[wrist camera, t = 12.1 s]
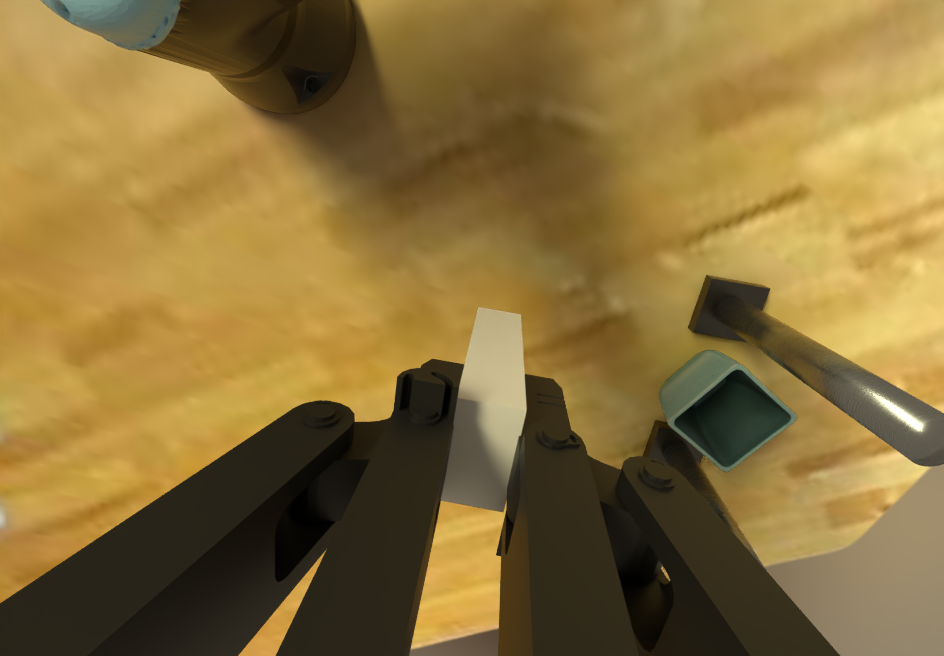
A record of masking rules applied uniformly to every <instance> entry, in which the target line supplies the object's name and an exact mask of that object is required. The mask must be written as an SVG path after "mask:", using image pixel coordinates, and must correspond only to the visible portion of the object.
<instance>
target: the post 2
mask: <svg viewBox="0 0 944 656" xmlns="http://www.w3.org/2000/svg"><path fill="white" fill-rule="evenodd" d="M769 291H770V288H768V287H765V286H763V285H758V284H753V283H747V282H742V281H736V280H731V279H725V278H720V277H714V276H709V275H706V278H705V281H704V283H703V286H702V289H701V292H700V295H699V298H698V301H697V303H696V306H695V309H694V312H693V315H692V318H691V320H690V323H689V326H688V328H689V329H690V330H691V331H693V332H696V333H701V334H707V335H712V336H718V337H723V338H729V339H734V340H739V341H745V342H749V343H750V344H752V345H753V346H754V347H756V348H757V349H758V350H760V351H761V352H763V353H764V354H765V355H767V356H768V357H769V358H771V359H772V360H774V361H775V362H776V363H778V364H779V365H780V366H782V367H783V368H784V369H786V370H787V371H789V372H790V373H791V374H793V375H794V376H795V377H797V378H798V379H800V380H801V381H802V382H804V383H805V384H806V385H808V386H809V387H811V388H812V389H813V390H815V391H816V392H817V393H819V394H820V395H822V396H823V397H824V398H826V399H827V400H828V401H830V402H831V403H833V404H834V405H835V406H837V407H838V408H839V409H841V410H842V411H843V412H845V413H846V414H848V415H849V416H850V417H852V418H853V419H854V420H856V421H857V422H859V423H860V424H861V425H863V426H864V427H865V428H867V429H868V430H870V431H871V432H872V433H874V434H875V435H876V436H878V437H879V438H881V439H882V440H883V441H885V442H886V443H887V444H889V445H890V446H892V447H893V448H894V449H896V450H897V451H898V452H900V453H901V454H903V455H904V456H905V457H907V458H908V459H909V460H911V461H912V462H914V463H915V464H918V465H921V466H938V465H942V464H944V413H942V412H940V411H938V410H937V409H935V408H933V407H931V406H929V405H928V404H926V403H924V402H922V401H921V400H919V399H917V398H915V397H914V396H912V395H910V394H908V393H906V392H905V391H903V390H901V389H899V388H898V387H896V386H894V385H892V384H890V383H889V382H887V381H885V380H883V379H882V378H880V377H878V376H876V375H874V374H873V373H871V372H869V371H867V370H866V369H864V368H862V367H860V366H859V365H857V364H855V363H853V362H851V361H850V360H848V359H846V358H844V357H843V356H841V355H839V354H837V353H835V352H834V351H832V350H830V349H828V348H827V347H825V346H823V345H821V344H819V343H818V342H816V341H814V340H812V339H811V338H809V337H807V336H805V335H804V334H802V333H800V332H798V331H796V330H795V329H793V328H791V327H789V326H788V325H786V324H784V323H782V322H780V321H779V320H777V319H775V318H773V317H772V316H770V315H768V314H766V313H764V312H763V311H762V308H763V306H764V304H765V301H766V299H767V296H768V294H769Z"/></svg>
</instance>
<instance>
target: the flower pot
mask: <svg viewBox="0 0 944 656" xmlns="http://www.w3.org/2000/svg"><path fill="white" fill-rule="evenodd" d="M659 400H660V404H661V407H662V409H663V412H664V415H665V417H666V420H667V423H668V425H669V426H670V427H671V428H672V429H673V430H675V431H676V432H677V433H678V434H680V435H681V436H682V437H683V438H685V439H686V440H687V441H688V442H689V443H691V444H692V445H693V446H694V447H695V448H696V449H698V450H699V451H700V452H701V453H702V454H703V455H705V456H706V457H707V458H708V459H709V460H710V461H712V462H713V463H714V464H715V465H716V466H717V467H718V468H719V469H720V470H722V471H724V472H728V471H730V470H732V469H733V468H735V467H736V466H737V465H738V464H740V463H741V462H742V461H744V460H745V459H746V458H747V457H749V456H750V455H751V454H753V453H754V452H755V451H757V450H758V449H759V448H761V447H762V446H763V445H764V444H766V443H767V442H768V441H769V440H771V439H772V438H773V437H775V436H776V435H778V434H779V433H780V432H782V431H783V430H785V429H786V428H788V427H789V426H790V425H792V424H793V423H794V422H795V421H796V419H797V415H796V414H795V413H794V412H793V411H792V410H791V409H790V408H789V407H788V406H786V405H785V404H784V403H783V402H782V401H781V400H780V399H779V398H778V397H777V396H775V395H774V394H773V393H772V392H771V391H770V390H769V389H768V388H767V387H766V386H765V385H763V384H762V383H761V382H760V381H759V380H758V379H757V378H756V377H755V376H754V375H753V374H752V373H751V372H750V371H749V370H748V369H746V368H745V367H744V366H743V365H742V364H740V363H738V362H737V361H735V360H733V359H732V358H730V357H728V356H726V355H724V354H723V353H721V352H718V351H716V350H705V351H702V352H700V353H698V354H696V355H695V356H694V357H693V358H692V359H690V360H689V361H688V362H687V363H686V364H685V365H684V366H683V367H681V368H680V369H679V370H678V371H677V372H676V373H675V374H673V375H672V376H671V377H670V378H669V379H668V380H666V382H665V383H664V384H663V386H662V388H661V390H660V394H659Z"/></svg>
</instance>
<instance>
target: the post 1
mask: <svg viewBox="0 0 944 656" xmlns="http://www.w3.org/2000/svg"><path fill="white" fill-rule="evenodd" d="M702 456H703V454H702V453H701V452H700V451H699V450H698V449H696V448H695V447H694V446H693V445H692V444H691V443H689V442H688V441H687V440H686V439H685V438H683V437H682V436H681V435H680V434H678V433H677V432H676V431H675V430H673V429H672V428H671V427H670V426H669V425H668V423H667V422H662V421H657V420H655V423H654V426H653V429H652V431H651V434H650V437H649V440H648V443H647V446H646V448H645V451H644V454H643V457H647V458H653V459H657V460H658V461H659V460H660V461H662V462H664V463H666V464H667V465H669V466H671V467H672V468H674V469H676V470H677V471H678V472H679V473H680V474H682V475H683V476H684V477H685V478H686V479H687V480H688V481H689V483H690V484H691V485H692V486H693V487H694V488H695V489H696V491H697V492H698V493H699V494H700V495H701V496H702V498H703V499H704V500H705V501H706V502H707V503H708V504H709V506H710V507H711V508H712V509H713V510H714V511H715V512H716V514H717V515H718V516H719V517H720V518H721V519H722V521H723V522H724V523H725V524H726V525H727V526H728V527H729V529H730V530H731V531H732V532H733V533H734V534H735V535H736V537H737V538H738V539H739V540H740V541H741V542H742V544H743V545H744V546H745V547H746V548H747V549H748V550H749V552H750V553H751V554H752V555H753V556H754V557H755V558H756V560H757V561H758V562H759V563H760V564H761V565H762V563H761V561H760V560H759V558H758V557H757V555H756V554H755V552H754V550H753V549H752V547H751V546H750V544H749V542H748V541H747V539H746V538H745V536H744V535H743V533H742V531H741V530H740V528H739V527H738V525H737V523H736V522H735V520H734V519H733V517H732V516H731V514H730V512H729V511H728V509H727V508H726V506H725V505H724V503H723V501H722V500H721V498H720V497H719V495H718V493H717V492H716V490H715V489H714V487H713V486H712V484H711V482H710V481H709V479H708V478H707V476H706V474H705V473H704V471H703V470H702V468H701V467H700V465H699V464H700V461H701V459H702ZM762 567H763V568H764V566H763V565H762ZM764 569H765V568H764ZM765 570H766V569H765Z"/></svg>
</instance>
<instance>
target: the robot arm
mask: <svg viewBox="0 0 944 656" xmlns="http://www.w3.org/2000/svg"><path fill="white" fill-rule="evenodd" d="M40 1H42V2H43V3H44V4H45V5H46V6H47V7H48V8H50V9H51V10H52V11H53V12H55V13H56V14H57V15H59V16H60V17H62V18H64V19H65V20H67V21H68V22H70V23H71V24H73V25H75V26H77V27H79V28H82V29H84V30H86V31H89V32H91V33H94V34H96V35H99V36H102V37H103V38H104V39H106V40H107V41H109V42H112V43H114V44H115V45H117V46H119V47H121V48H125V49H128V50H137V51H140V52H144V53H147V54H150V55H153V56H157V57H160V58H163V59H167V60H170V61H173V62H177V63H180V64H183V65H187V66H190V67H193V68H197V69H200V70H203V71H207V72H209V73H210V74H211V75H212V76H214V77H215V78H216V79H217V80H218V81H219V82H220V83H221V84H222V85H223V86H224V87H225V88H226V89H227V90H228V91H229V92H230V93H232V94H233V95H234V96H236V97H237V98H239V99H240V100H242V101H244V102H246V103H248V104H250V105H252V106H254V107H257V108H260V109H263V110H267V111H271V112H276V113H282V114H295V113H302V112H306V111H309V110H311V109H314V108H316V107H318V106H319V105H321V104H323V103H324V102H325V101H327V100H328V99H329V98H330V97H331V96H332V95H333V94H334V93H335V92H336V91H337V90H338V88H339V87H340V85H341V84H342V82H343V81H344V79H345V77H346V75H347V73H348V71H349V68H350V65H351V62H352V58H353V54H354V48H355V20H354V13H353V9H352V5H351V1H350V0H40ZM506 499H507V510H506V514H505V519H504V523H503V527H502V532H501V536H500V540H499V545H498V549H497V553H496V555H498V556H501V581H500V613H499V645H498V656H840V655H839V654H838V653H837V652H836V651H835V649H834V648H833V647H832V646H831V645H830V644H829V642H828V641H827V640H826V639H825V638H824V637H823V636H822V634H821V633H820V632H819V631H818V630H817V629H816V627H815V626H814V625H813V624H812V623H811V622H810V621H809V620H808V619H807V617H806V616H805V615H804V614H803V613H802V611H801V610H800V609H799V608H798V607H797V606H796V605H795V603H794V602H793V601H792V600H791V599H790V598H789V597H788V595H787V594H786V593H785V592H784V591H783V590H782V588H781V587H780V586H779V585H778V584H777V583H776V582H775V580H774V579H773V578H772V577H771V576H770V575H769V573H768V572H767V571H766V570H765V569H764V568H763V567H762V565H761V564H760V563H759V562H758V561H757V560H756V558H755V557H754V556H753V555H752V554H751V553H750V552H749V550H748V549H747V548H746V547H745V546H744V545H743V544H742V542H741V541H740V540H739V539H738V538H737V537H736V535H735V534H734V533H733V532H732V531H731V530H730V529H729V527H728V526H727V525H726V524H725V523H724V522H723V521H722V519H721V518H720V517H719V516H718V515H717V514H716V512H715V511H714V510H713V509H712V508H711V507H710V506H709V504H708V503H707V502H706V501H705V500H704V499H703V498H702V496H701V495H700V494H699V493H698V492H697V491H696V489H695V488H694V487H693V486H692V485H691V484H690V483H689V481H688V480H687V479H686V478H685V477H684V476H683V475H682V474H680V473H679V472H678V471H677V470H676V469H674V468H672V467H671V466H669V465H667V464H666V463H664V462H662V461H660V460H659V461H658V460H657V459H653V458H647V457H641V456H638V457H630V458H628V459H627V460H625V461H624V463H623V466H622V469H621V470H620V469H617V468H614V467H612V466H609V465H607V464H604V463H602V462H599V461H597V460H595V459H593V458H592V457H590V456H588V455H587V451H586V447H585V444H584V442H583V441H582V439H581V438H580V437H579V436H578V435H577V434H576V433H575V432H573V431H572V430H571V427H570V423H569V418H568V414H567V409H566V405H565V401H564V396H563V392H562V388H561V387H560V386H559V385H558V384H557V383H556V382H555V381H554V380H553V379H550V378H544V377H539V376H533V375H528V374H524V357H523V341H522V324H521V314H516V313H510V312H504V311H499V310H493V309H487V308H482V307H478V311H477V315H476V319H475V323H474V327H473V332H472V336H471V340H470V344H469V348H468V352H467V356H466V361H465V365H464V364H459V363H453V362H448V361H442V360H437V359H431V360H429V361H428V362H426V363H424V364H423V365H422V366H421V368H415V369H409V370H406V371H404V372H402V373H401V374H400V375H399V376H398V377H397V385H396V394H395V403H394V411H393V413H392V415H391V417H390V418H388V419H385V420H381V421H374V422H355V419H354V413H353V412H352V411H351V409H350V408H349V407H347V406H345V405H343V404H341V403H336V402H331V401H323V400H322V401H313V402H308V403H304V404H302V405H299V406H297V407H295V408H293V409H292V410H290V411H289V412H287V413H286V414H284V415H283V416H281V417H280V418H278V419H277V420H275V421H274V422H272V423H271V424H269V425H268V426H266V427H265V428H263V429H262V430H260V431H259V432H257V433H256V434H254V435H253V436H251V437H250V438H248V439H247V440H245V441H244V442H242V443H241V444H239V445H238V446H236V447H235V448H233V449H232V450H230V451H229V452H227V453H226V454H224V455H223V456H221V457H220V458H218V459H217V460H215V461H214V462H212V463H211V464H209V465H208V466H206V467H205V468H203V469H202V470H200V471H199V472H197V473H196V474H194V475H193V476H191V477H190V478H188V479H187V480H185V481H184V482H182V483H181V484H179V485H178V486H176V487H175V488H173V489H172V490H170V491H168V492H167V493H165V494H164V495H162V496H161V497H159V498H158V499H156V500H155V501H153V502H152V503H150V504H149V505H147V506H146V507H144V508H143V509H141V510H140V511H138V512H137V513H135V514H134V515H132V516H131V517H129V518H128V519H126V520H125V521H123V522H122V523H120V524H119V525H117V526H116V527H114V528H113V529H111V530H110V531H108V532H107V533H105V534H104V535H102V536H101V537H99V538H98V539H96V540H95V541H93V542H92V543H90V544H89V545H87V546H86V547H84V548H83V549H81V550H80V551H78V552H77V553H75V554H74V555H72V556H71V557H69V558H68V559H66V560H65V561H63V562H62V563H60V564H59V565H57V566H56V567H54V568H53V569H51V570H50V571H48V572H47V573H45V574H44V575H42V576H41V577H39V578H38V579H36V580H35V581H33V582H32V583H30V584H29V585H27V586H26V587H24V588H23V589H21V590H20V591H18V592H17V593H15V594H14V595H12V596H11V597H9V598H8V599H6V600H5V601H3V602H2V603H0V656H238V655H239V654H240V653H241V652H242V650H243V649H244V648H245V647H246V645H247V644H248V643H249V642H250V641H251V639H252V638H253V637H254V636H255V635H256V633H257V632H258V631H259V630H260V629H261V627H262V626H263V625H264V624H265V623H266V621H267V620H268V619H269V618H270V617H271V615H272V614H273V613H274V612H275V611H276V609H277V608H278V607H279V606H280V605H281V603H282V602H283V601H284V600H285V598H286V597H287V596H288V595H289V594H290V592H291V591H292V590H293V589H294V588H295V586H296V585H297V584H298V583H299V582H300V580H301V579H302V578H303V577H304V576H305V574H306V573H307V572H308V571H309V570H310V568H311V567H312V566H313V565H314V564H315V562H316V561H317V560H318V559H319V557H320V556H321V555H322V554H323V553H324V551H325V550H326V549H327V550H326V552H325V554H324V556H323V558H322V561H321V563H320V565H319V567H318V569H317V571H316V573H315V575H314V577H313V579H312V581H311V583H310V586H309V588H308V590H307V592H306V594H305V596H304V598H303V600H302V602H301V604H300V606H299V608H298V610H297V613H296V615H295V617H294V619H293V621H292V623H291V625H290V627H289V629H288V631H287V633H286V635H285V638H284V640H283V642H282V644H281V646H280V648H279V650H278V652H277V654H276V656H409V653H410V648H411V644H412V639H413V634H414V629H415V624H416V620H417V615H418V610H419V605H420V600H421V596H422V591H423V586H424V581H425V576H426V571H427V567H428V562H429V557H430V552H431V547H432V543H433V538H434V533H435V528H436V523H437V519H438V513H439V507H440V501H446V502H452V503H457V504H462V505H468V506H473V507H478V508H484V509H489V510H494V511H500V512H504V507H505V503H506ZM662 565H663V567H664V568H665V570H666V572H667V573H668V576H669V578H670V580H671V581H669V580H668V579H667V578H666V576H665V575H664V573H663V572H662V570H661V567H662Z"/></svg>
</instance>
